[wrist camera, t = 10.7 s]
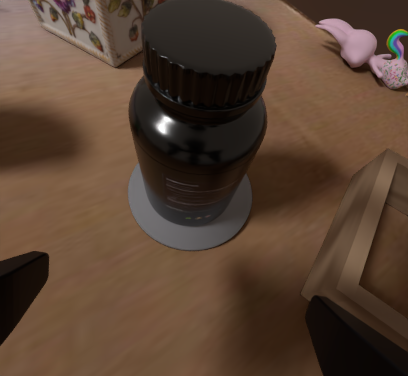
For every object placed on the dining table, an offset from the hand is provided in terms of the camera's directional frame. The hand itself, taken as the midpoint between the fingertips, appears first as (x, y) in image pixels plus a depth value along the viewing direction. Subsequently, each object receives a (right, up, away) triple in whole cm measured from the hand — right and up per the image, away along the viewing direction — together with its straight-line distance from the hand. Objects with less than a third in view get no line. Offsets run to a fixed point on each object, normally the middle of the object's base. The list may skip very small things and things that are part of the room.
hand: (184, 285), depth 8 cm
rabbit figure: (+22, +20, +24) cm, 38 cm away
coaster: (0, +3, +11) cm, 12 cm away
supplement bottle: (-1, +3, +11) cm, 11 cm away
